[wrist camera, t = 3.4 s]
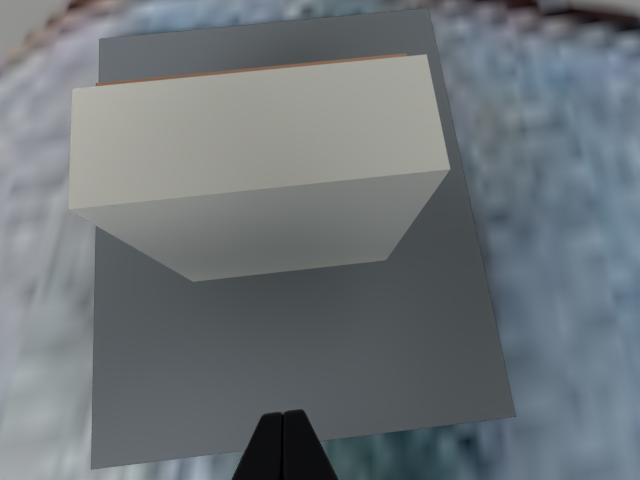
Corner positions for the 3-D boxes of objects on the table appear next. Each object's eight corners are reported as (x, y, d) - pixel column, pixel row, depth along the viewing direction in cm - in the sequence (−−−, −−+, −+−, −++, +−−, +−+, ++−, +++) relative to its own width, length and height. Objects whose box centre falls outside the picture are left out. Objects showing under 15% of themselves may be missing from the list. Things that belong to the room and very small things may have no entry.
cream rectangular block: (385, 260, 16) (450, 168, 8) (192, 281, 16) (68, 209, 8) (374, 188, 16) (424, 41, 9) (190, 208, 16) (73, 75, 9)
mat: (503, 412, 15) (516, 417, 14) (105, 462, 15) (91, 469, 14) (422, 25, 20) (428, 7, 19) (110, 54, 19) (99, 38, 18)
